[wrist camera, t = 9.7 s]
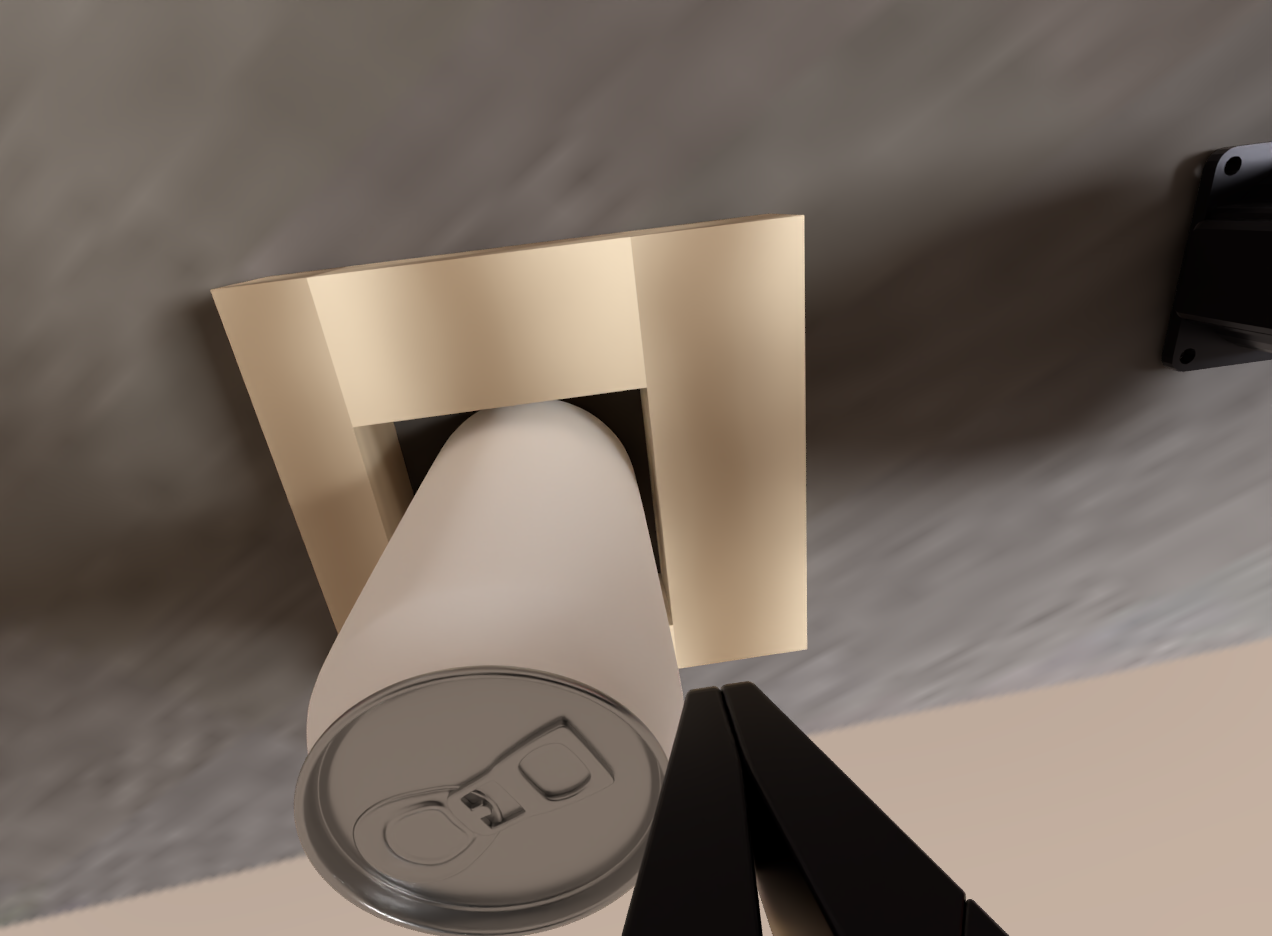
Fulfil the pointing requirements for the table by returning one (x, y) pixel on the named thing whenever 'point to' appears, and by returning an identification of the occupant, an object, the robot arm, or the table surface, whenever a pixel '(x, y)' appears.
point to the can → (498, 690)
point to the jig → (557, 369)
